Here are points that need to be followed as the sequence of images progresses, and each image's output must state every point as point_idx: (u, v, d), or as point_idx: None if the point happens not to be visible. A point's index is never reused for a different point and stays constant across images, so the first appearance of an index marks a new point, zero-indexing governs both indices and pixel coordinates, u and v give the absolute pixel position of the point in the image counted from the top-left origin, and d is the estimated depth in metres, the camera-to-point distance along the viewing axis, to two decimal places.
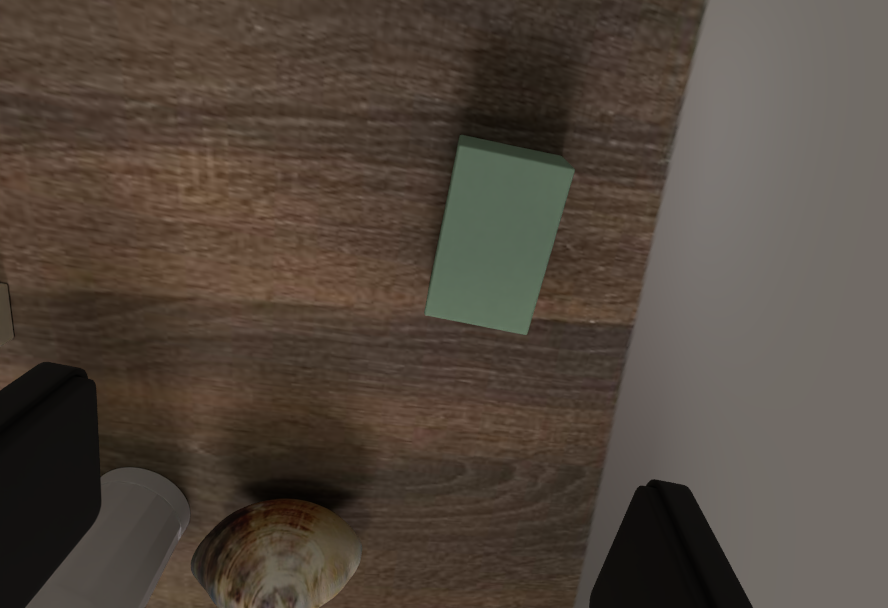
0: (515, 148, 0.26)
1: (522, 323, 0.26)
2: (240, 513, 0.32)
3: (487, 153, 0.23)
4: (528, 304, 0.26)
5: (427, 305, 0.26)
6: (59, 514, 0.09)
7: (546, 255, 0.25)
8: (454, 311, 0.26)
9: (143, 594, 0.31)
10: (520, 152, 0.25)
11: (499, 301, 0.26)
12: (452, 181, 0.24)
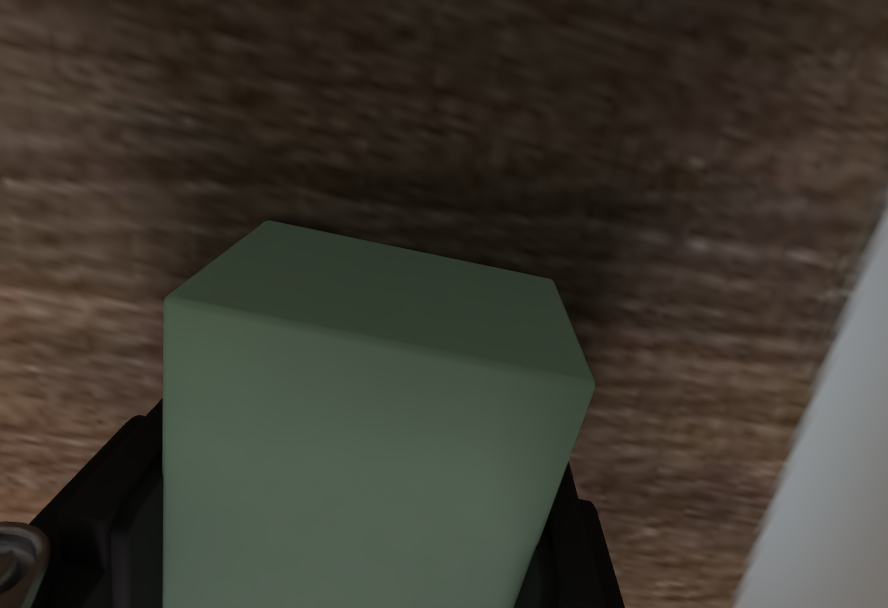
0: (413, 269, 0.09)
1: None
2: None
3: (272, 330, 0.06)
4: None
5: None
6: None
7: None
8: None
9: None
10: (417, 295, 0.08)
11: None
12: (164, 414, 0.07)
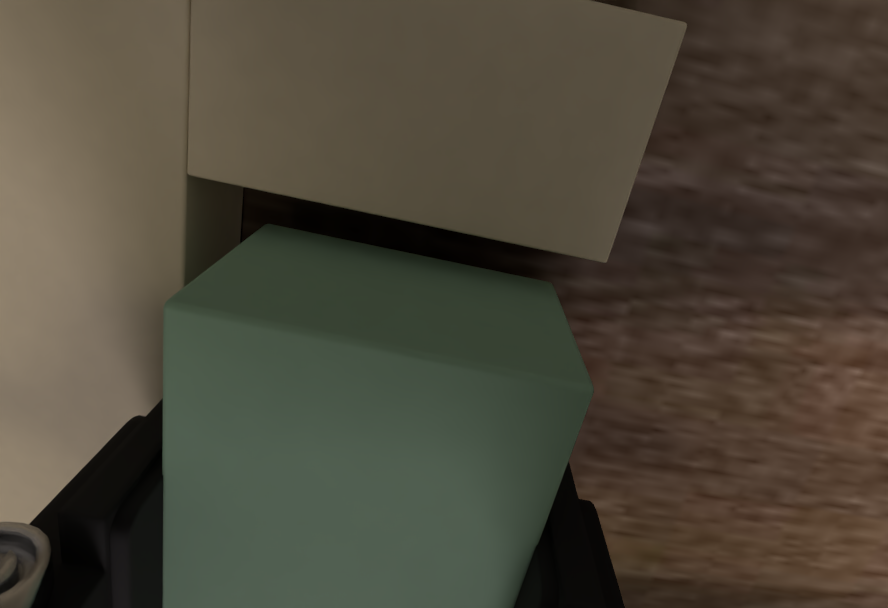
0: (412, 272, 0.09)
1: None
2: None
3: (272, 335, 0.06)
4: None
5: None
6: None
7: None
8: None
9: None
10: (416, 299, 0.08)
11: None
12: (164, 418, 0.07)
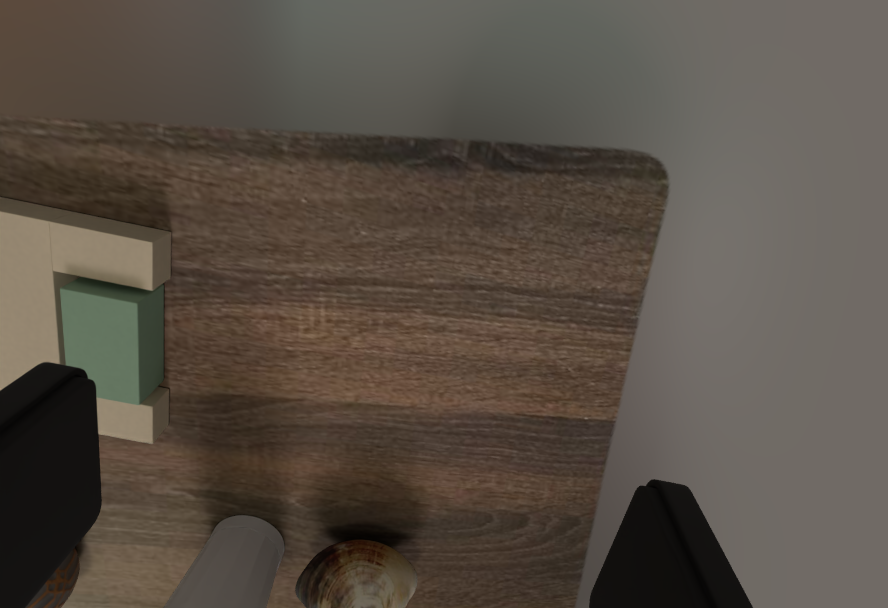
0: None
1: (133, 398, 0.39)
2: (329, 551, 0.45)
3: (79, 293, 0.36)
4: (133, 386, 0.38)
5: None
6: (59, 514, 0.09)
7: (135, 355, 0.37)
8: None
9: None
10: (116, 287, 0.37)
11: (114, 384, 0.38)
12: (61, 309, 0.36)
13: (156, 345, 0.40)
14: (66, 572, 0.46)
